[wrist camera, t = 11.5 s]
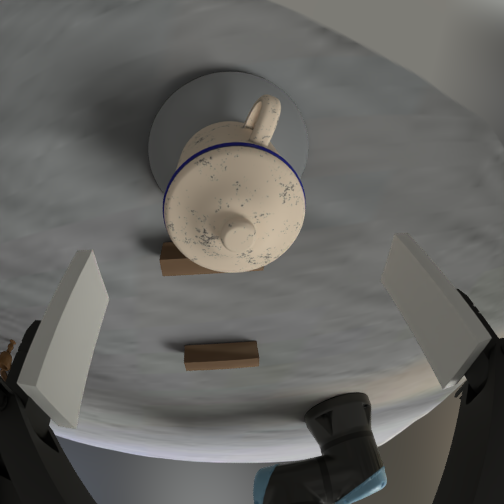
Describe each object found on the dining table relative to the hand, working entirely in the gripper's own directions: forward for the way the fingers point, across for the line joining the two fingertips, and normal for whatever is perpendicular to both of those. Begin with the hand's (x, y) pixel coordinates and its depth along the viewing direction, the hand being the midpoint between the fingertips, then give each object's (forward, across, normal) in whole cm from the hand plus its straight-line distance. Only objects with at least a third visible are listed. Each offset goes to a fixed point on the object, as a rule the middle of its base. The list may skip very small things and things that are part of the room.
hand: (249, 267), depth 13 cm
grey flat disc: (+17, 0, 0) cm, 17 cm away
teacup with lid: (+16, 0, 0) cm, 16 cm away
